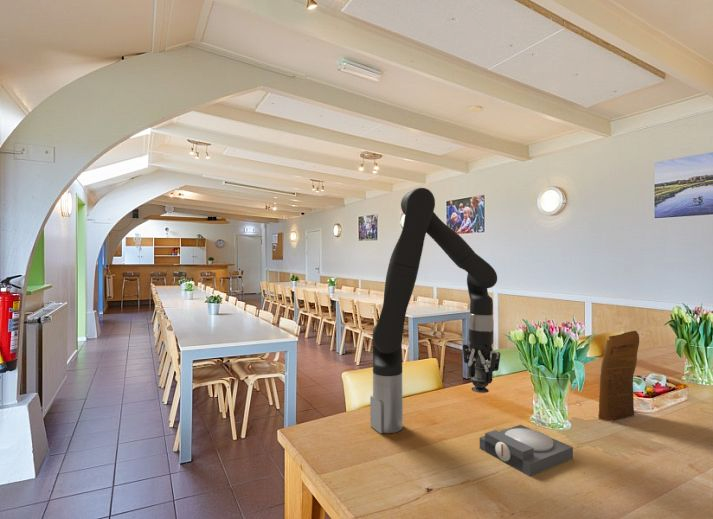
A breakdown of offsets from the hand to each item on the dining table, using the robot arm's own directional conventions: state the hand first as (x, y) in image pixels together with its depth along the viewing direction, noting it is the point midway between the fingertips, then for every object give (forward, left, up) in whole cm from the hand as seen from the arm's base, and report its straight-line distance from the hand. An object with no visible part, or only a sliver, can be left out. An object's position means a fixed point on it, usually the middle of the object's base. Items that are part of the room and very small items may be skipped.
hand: (480, 380), depth 125 cm
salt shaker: (0, 0, -3) cm, 3 cm away
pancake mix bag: (+43, -19, -14) cm, 49 cm away
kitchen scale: (-5, -20, -14) cm, 25 cm away
